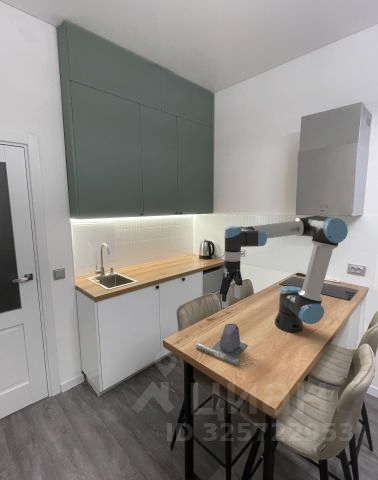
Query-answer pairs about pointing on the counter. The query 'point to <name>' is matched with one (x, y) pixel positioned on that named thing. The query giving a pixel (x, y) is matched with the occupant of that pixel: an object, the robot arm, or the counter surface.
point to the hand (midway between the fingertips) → (231, 302)
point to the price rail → (217, 354)
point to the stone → (230, 338)
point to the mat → (233, 354)
